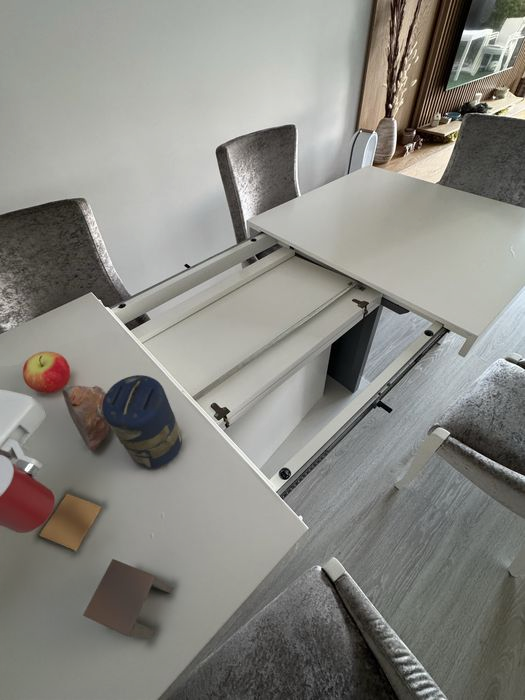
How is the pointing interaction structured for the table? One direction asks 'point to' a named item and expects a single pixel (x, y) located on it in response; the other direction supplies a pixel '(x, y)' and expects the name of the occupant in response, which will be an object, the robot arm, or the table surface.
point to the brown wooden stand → (123, 599)
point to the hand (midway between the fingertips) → (14, 497)
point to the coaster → (70, 522)
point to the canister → (143, 420)
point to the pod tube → (22, 499)
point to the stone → (87, 413)
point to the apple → (46, 372)
